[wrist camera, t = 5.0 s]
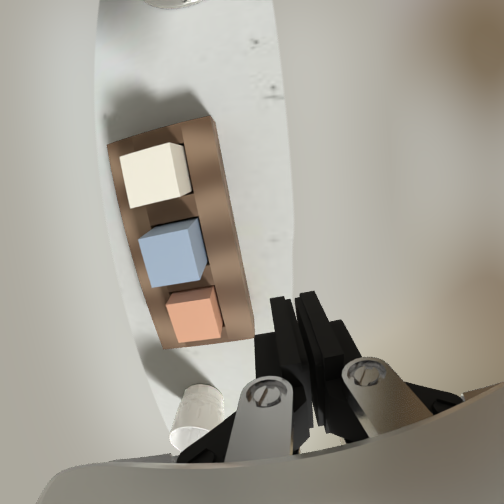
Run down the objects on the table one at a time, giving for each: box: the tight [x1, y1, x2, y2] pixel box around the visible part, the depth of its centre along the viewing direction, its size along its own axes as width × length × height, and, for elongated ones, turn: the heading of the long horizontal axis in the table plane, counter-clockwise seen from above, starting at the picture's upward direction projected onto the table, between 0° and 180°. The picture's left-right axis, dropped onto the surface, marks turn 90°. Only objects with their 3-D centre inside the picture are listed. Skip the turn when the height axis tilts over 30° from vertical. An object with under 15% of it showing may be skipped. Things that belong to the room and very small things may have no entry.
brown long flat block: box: [107, 116, 255, 349], centre depth 34 cm, size 26×12×5 cm, turn 10°
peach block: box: [166, 285, 223, 343], centre depth 35 cm, size 5×5×6 cm
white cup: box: [169, 384, 224, 452], centre depth 40 cm, size 8×8×10 cm
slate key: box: [138, 217, 208, 288], centre depth 30 cm, size 5×5×6 cm
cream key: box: [120, 142, 192, 209], centre depth 28 cm, size 5×5×6 cm
